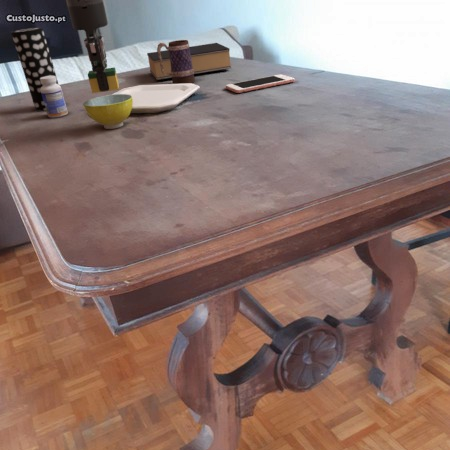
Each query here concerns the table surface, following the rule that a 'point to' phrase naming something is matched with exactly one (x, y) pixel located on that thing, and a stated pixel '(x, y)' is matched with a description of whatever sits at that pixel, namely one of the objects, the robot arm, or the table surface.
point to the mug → (178, 61)
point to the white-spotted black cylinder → (34, 61)
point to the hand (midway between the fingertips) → (105, 88)
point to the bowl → (110, 109)
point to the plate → (158, 96)
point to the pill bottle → (53, 97)
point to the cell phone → (259, 83)
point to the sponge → (110, 77)
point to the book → (193, 60)
